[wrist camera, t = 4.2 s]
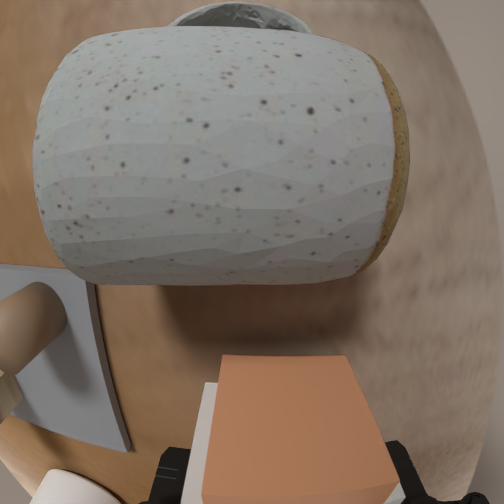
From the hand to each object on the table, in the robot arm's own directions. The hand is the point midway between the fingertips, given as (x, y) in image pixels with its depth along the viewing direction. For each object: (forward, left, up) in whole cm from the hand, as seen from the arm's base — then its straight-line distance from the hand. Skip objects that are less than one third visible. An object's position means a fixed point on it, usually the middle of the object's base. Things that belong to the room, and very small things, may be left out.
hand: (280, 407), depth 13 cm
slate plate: (0, -16, -2) cm, 16 cm away
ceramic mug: (-12, -3, -2) cm, 12 cm away
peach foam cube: (0, 0, 0) cm, 0 cm away
